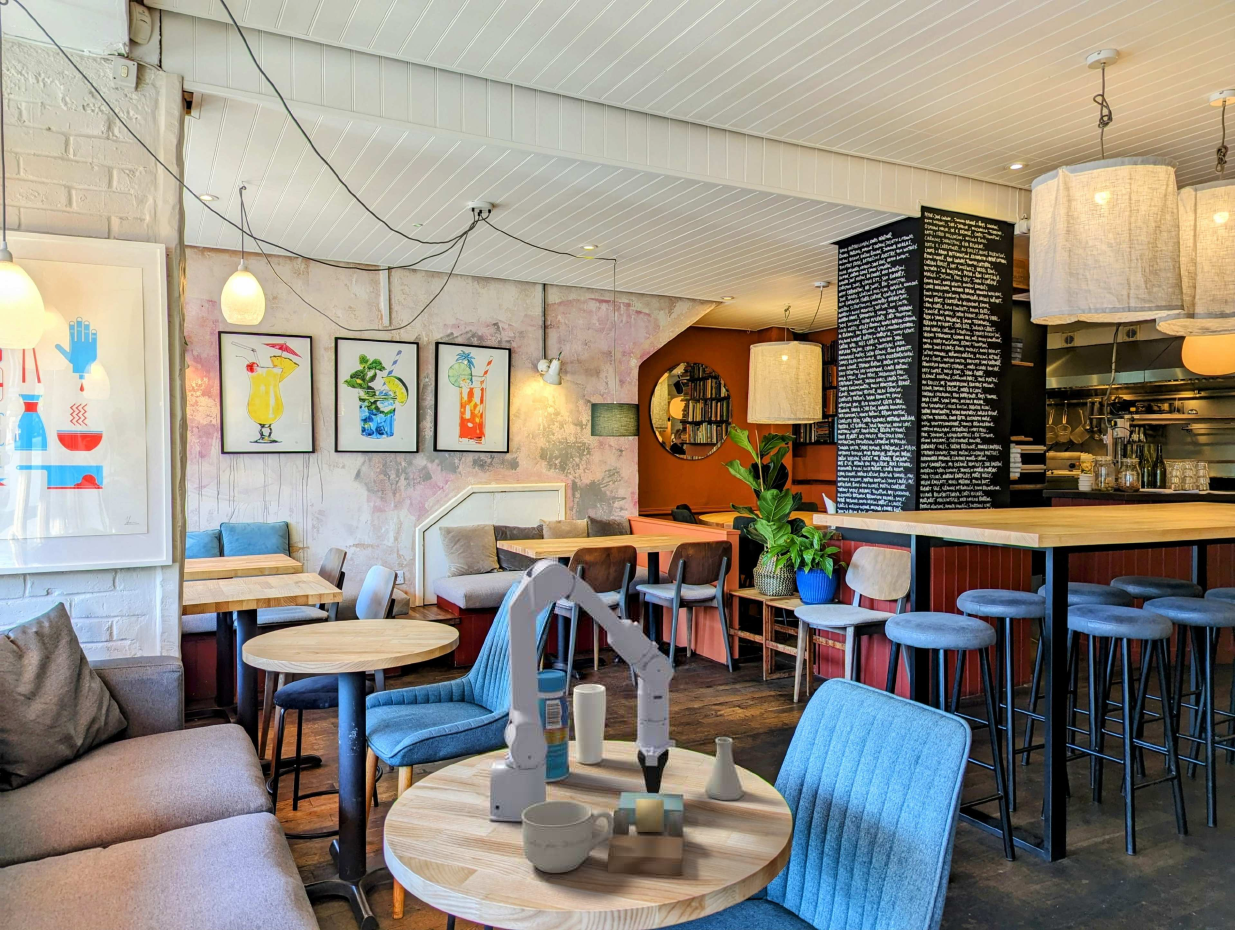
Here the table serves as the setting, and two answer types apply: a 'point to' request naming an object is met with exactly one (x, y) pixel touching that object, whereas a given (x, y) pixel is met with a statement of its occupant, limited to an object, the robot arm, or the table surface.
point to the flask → (724, 774)
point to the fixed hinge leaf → (646, 848)
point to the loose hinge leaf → (650, 809)
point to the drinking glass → (589, 721)
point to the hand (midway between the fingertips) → (653, 792)
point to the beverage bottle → (554, 722)
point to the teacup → (561, 834)
